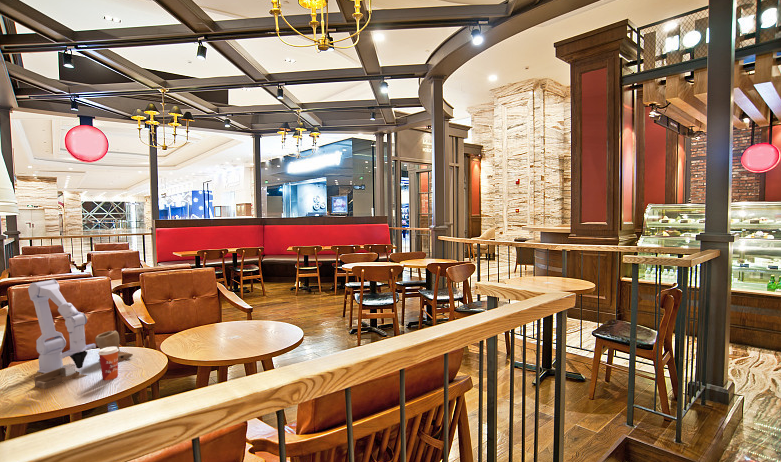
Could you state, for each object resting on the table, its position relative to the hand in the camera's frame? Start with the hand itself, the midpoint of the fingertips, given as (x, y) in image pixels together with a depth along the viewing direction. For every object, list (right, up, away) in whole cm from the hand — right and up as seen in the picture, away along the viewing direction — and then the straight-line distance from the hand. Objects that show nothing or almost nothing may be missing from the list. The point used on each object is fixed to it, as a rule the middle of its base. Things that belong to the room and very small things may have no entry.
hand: (79, 367), depth 184 cm
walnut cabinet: (-1, -4, -8) cm, 9 cm away
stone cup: (+4, -2, +17) cm, 17 cm away
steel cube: (-1, -1, -5) cm, 5 cm away
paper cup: (+19, -3, -6) cm, 20 cm away
